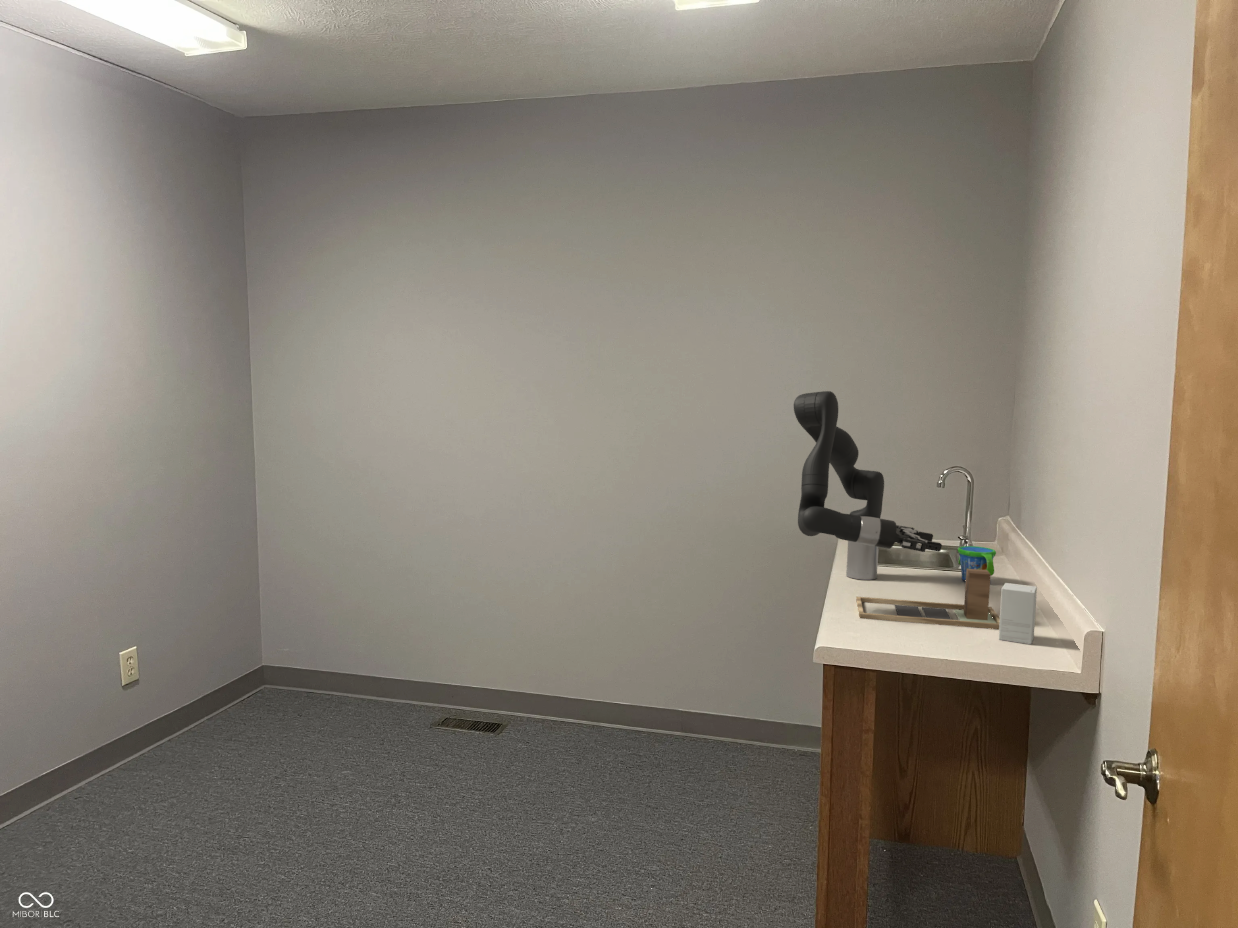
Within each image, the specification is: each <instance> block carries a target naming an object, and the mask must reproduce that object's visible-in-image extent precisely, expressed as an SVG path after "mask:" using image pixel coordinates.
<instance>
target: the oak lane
mask: <svg viewBox="0 0 1238 928" xmlns="http://www.w3.org/2000/svg"><path fill="white" fill-rule="evenodd" d="M855 598H856V599H855V600H856V607H858V608H857V612H859V613H858V616H859V617H860V618H859V619H865V618H866V620H867V619H868V620H878V621H879V620H880V621H892V622H902V623H905V622H906V623H916V624H917V623H918V624H927V625H940V626H941V625H942V626H950V627H951V626H953V627H954V626H955V627H967V628H977V629H988V628H991V630H992V628H993V630H999V623H1000V615H999V614H998V613H997V612H996V610H995V609H994V608H993V606H988V612H989V613H990V615H991V616H992V617H993V619H994V620H995V622H996V623H985V622H973V621H960V619H959V620H957V619H952V620H948V619H935V618H926V617H923V618H922V617H910V616H898V614H897V615H894V614H886V613H885V614H883V613H871V612H870V613H868V612H864V608H863V604H862V603H870V604H871V603H872V604H883V605H893V606H895V605H902V606H915V607H919V608H922V607H928V608H941V609H946V610H948V609H949V610H959V609H963V610H964V604H961V603H960V604H958V603H948V602H947V603H946V602H936V601H934V602H933V601H919V600H909V599H908V600H907V599H906V600H905V599H896V598H895V599H893V598H881V597H870V596H869V597H867V596H855Z"/></svg>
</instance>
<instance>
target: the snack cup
mask: <svg viewBox="0 0 1238 928" xmlns="http://www.w3.org/2000/svg"><path fill="white" fill-rule="evenodd" d="M957 553H958V554H959V557H958V565H960V570H961V571H960V572H961V580H962V579H963V580H962V581H964V580H966V570H967V569H978V570H987V571H988V572H989V573H990V574H991V577H992V576H993V575H994V574H995V567H994V566H995V565H994V558H995V556H996V554H997V551H996V550H995V549H993V548H990V547H986V546H985V547H984V546H976V545H964V546H959V547H958V548H957Z"/></svg>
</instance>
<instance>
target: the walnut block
mask: <svg viewBox="0 0 1238 928" xmlns="http://www.w3.org/2000/svg"><path fill="white" fill-rule="evenodd" d="M991 577H992V576H991V574H990V573H989V572H988V571H987V570H978V569H967V570H966V581H965V586H964V587H965V588H964V589H965V590H964V601H963V603H964V604H963V605H964V615H965V617H966V618H967V619H978V620H988V607H990V606H989V604H990V603H989V602H990V590H991V588H990V587H991Z"/></svg>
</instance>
